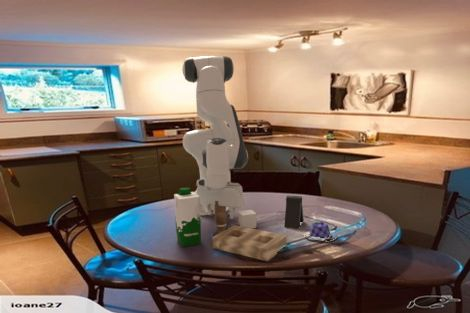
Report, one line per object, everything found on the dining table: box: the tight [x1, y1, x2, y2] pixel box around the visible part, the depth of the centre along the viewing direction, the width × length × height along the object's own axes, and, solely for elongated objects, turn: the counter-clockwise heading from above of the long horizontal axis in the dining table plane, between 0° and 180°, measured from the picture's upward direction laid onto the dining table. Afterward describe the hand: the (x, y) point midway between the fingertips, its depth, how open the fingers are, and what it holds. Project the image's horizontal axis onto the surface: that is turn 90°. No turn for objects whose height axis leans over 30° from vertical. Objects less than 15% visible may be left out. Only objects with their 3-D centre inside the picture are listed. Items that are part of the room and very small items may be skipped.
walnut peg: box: [214, 201, 228, 235], centre depth 138 cm, size 5×5×14 cm
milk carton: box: [173, 186, 202, 248], centre depth 131 cm, size 9×9×20 cm
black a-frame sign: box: [284, 195, 305, 229], centre depth 146 cm, size 9×6×12 cm, turn 156°
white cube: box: [237, 209, 257, 229], centre depth 147 cm, size 6×6×6 cm
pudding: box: [303, 221, 337, 243], centre depth 133 cm, size 12×12×5 cm
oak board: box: [211, 224, 288, 262], centre depth 125 cm, size 22×14×4 cm, turn 56°
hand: (220, 216), depth 137 cm, fingers open, 8 cm apart
